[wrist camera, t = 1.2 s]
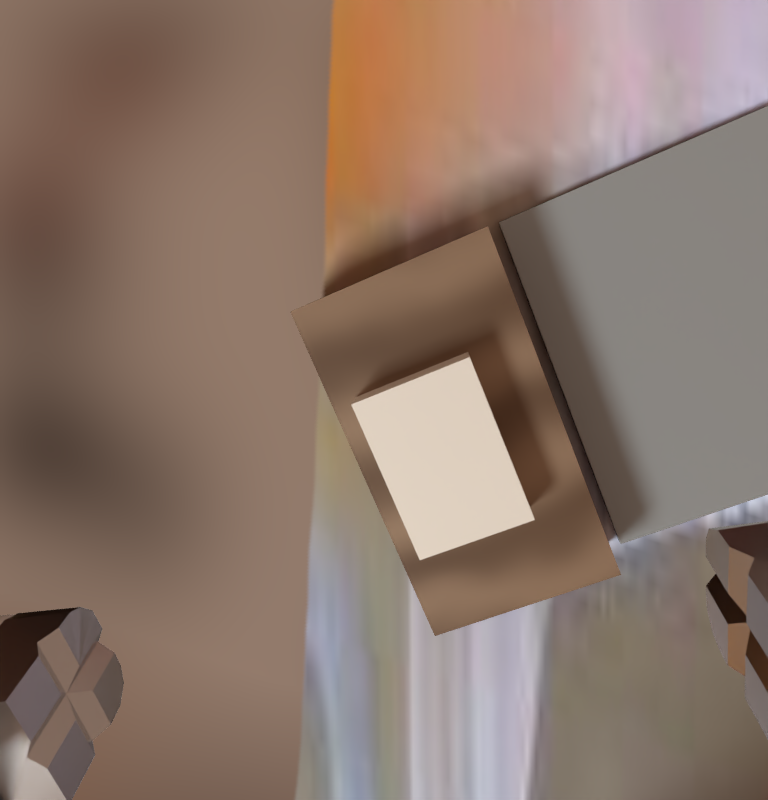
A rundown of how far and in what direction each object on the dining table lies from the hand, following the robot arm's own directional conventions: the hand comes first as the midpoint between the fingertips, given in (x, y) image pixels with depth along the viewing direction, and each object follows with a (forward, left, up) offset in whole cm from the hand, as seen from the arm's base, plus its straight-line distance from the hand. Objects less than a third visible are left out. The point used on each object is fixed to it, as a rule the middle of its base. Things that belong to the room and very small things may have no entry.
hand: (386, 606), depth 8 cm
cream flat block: (-6, +2, -29) cm, 29 cm away
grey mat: (-6, -14, -33) cm, 36 cm away
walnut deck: (-6, +1, -33) cm, 33 cm away
